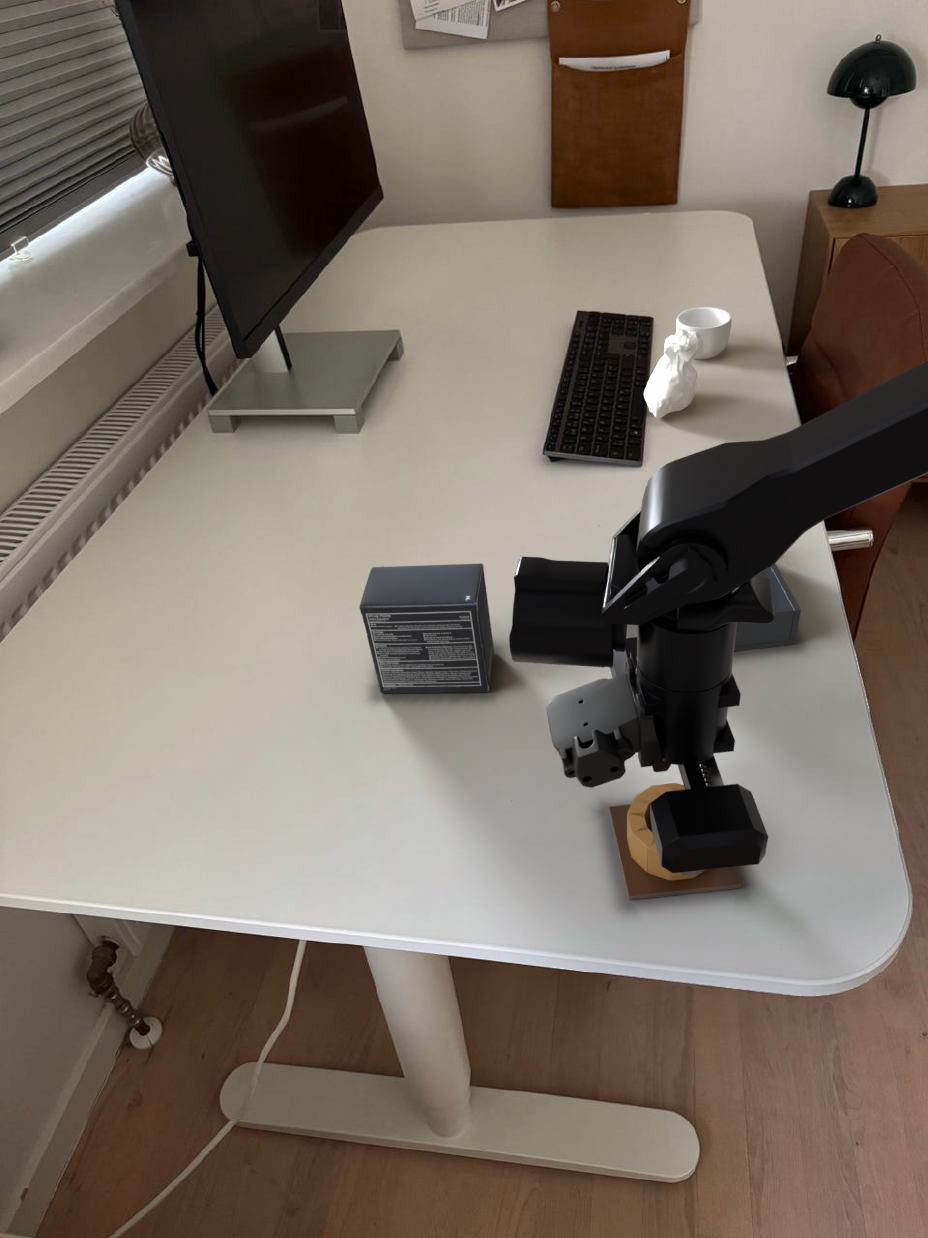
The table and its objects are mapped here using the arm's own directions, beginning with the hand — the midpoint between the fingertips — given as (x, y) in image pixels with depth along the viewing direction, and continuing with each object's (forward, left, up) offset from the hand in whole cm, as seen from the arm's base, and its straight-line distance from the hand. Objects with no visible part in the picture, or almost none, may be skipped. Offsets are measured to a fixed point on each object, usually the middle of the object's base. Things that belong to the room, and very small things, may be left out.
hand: (674, 818), depth 64 cm
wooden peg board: (0, 0, -4) cm, 4 cm away
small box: (+17, -22, -4) cm, 29 cm away
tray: (-9, -27, -4) cm, 29 cm away
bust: (-16, -69, -4) cm, 71 cm away
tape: (0, 0, -3) cm, 3 cm away
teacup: (-24, -85, -4) cm, 89 cm away
